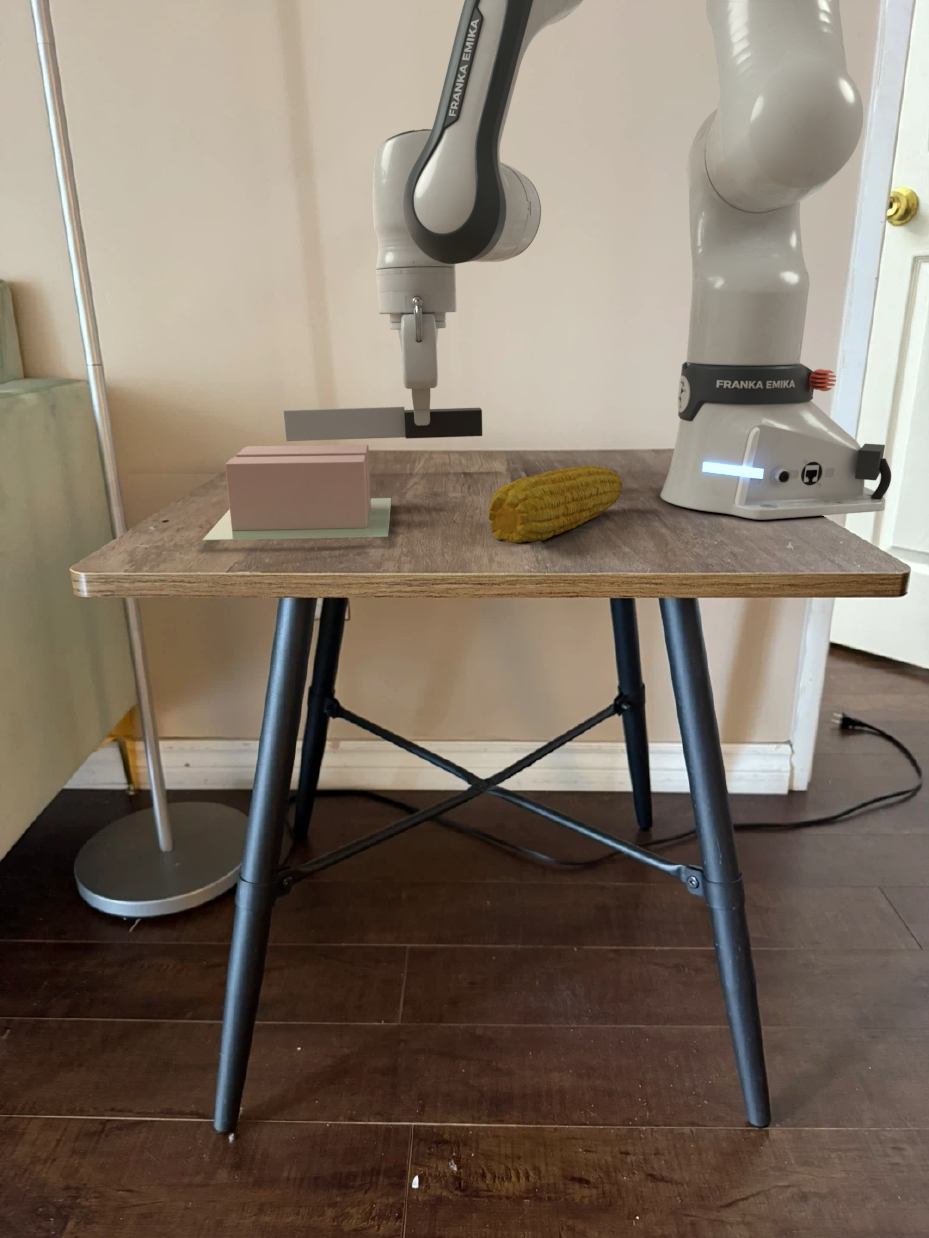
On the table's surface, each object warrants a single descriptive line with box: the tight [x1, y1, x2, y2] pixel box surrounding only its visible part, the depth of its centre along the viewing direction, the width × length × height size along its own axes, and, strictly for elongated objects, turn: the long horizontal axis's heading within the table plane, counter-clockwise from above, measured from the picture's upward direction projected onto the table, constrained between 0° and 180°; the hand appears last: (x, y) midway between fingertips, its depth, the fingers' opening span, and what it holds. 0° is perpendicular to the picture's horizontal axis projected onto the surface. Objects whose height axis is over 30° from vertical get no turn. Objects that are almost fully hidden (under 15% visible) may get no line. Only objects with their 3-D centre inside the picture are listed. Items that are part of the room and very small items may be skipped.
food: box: [487, 464, 624, 544], centre depth 80 cm, size 21×6×6 cm, turn 148°
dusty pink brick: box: [224, 455, 368, 531], centre depth 78 cm, size 12×4×6 cm, turn 94°
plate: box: [202, 497, 392, 541], centre depth 82 cm, size 16×16×1 cm
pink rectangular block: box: [235, 444, 372, 515], centre depth 83 cm, size 12×5×6 cm, turn 94°
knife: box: [283, 406, 483, 442], centre depth 101 cm, size 23×3×4 cm, turn 93°
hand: (422, 422), depth 101 cm, fingers closed on knife, 2 cm apart
